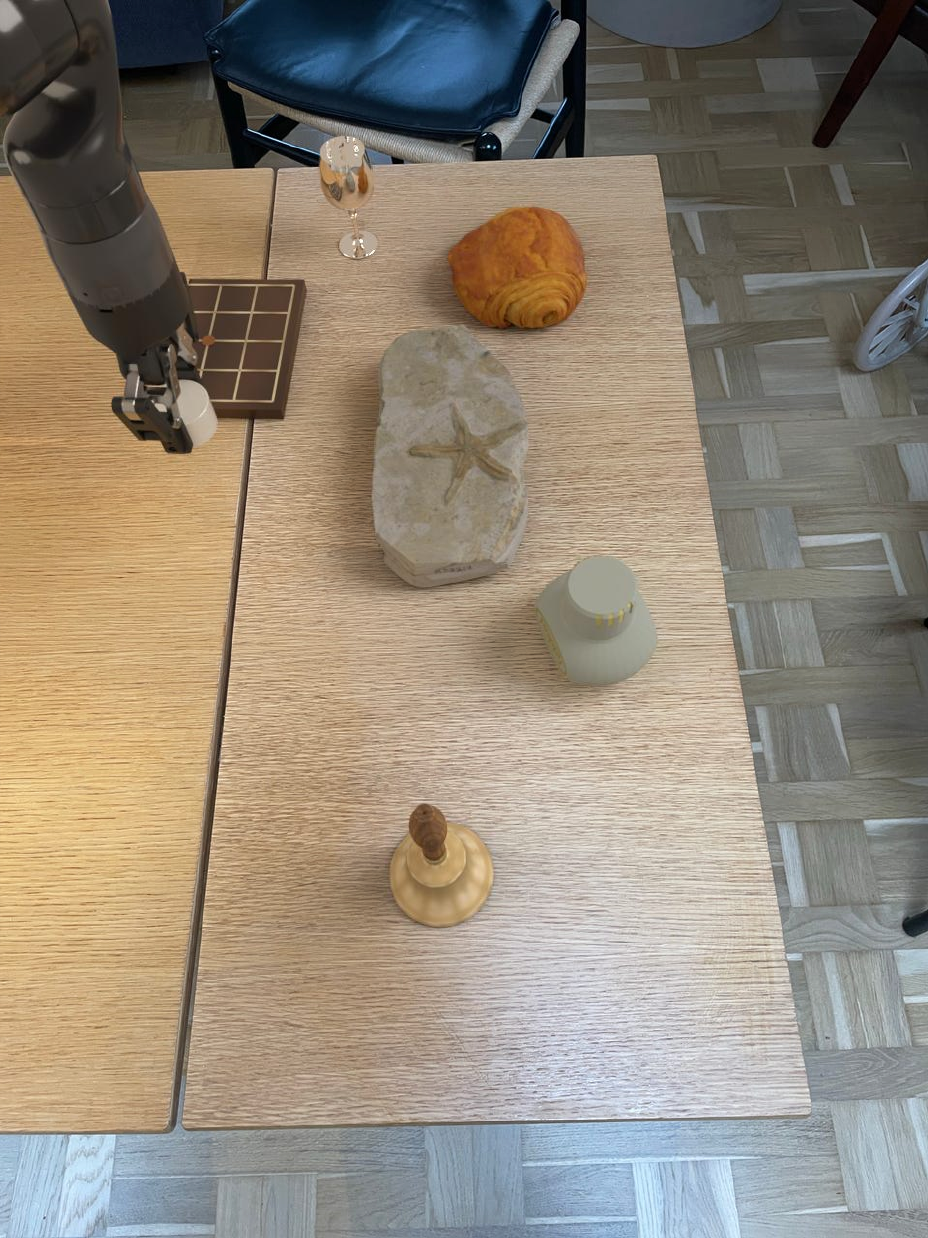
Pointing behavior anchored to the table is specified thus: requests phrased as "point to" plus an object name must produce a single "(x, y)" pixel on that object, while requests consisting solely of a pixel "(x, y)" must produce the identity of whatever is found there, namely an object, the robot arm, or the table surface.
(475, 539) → the fossil stone
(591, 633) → the air freshener
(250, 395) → the grid board
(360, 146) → the wineglass
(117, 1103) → the table surface
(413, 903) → the hand bell
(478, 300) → the croissant
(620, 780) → the table surface
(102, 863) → the table surface
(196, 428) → the white short cylinder
